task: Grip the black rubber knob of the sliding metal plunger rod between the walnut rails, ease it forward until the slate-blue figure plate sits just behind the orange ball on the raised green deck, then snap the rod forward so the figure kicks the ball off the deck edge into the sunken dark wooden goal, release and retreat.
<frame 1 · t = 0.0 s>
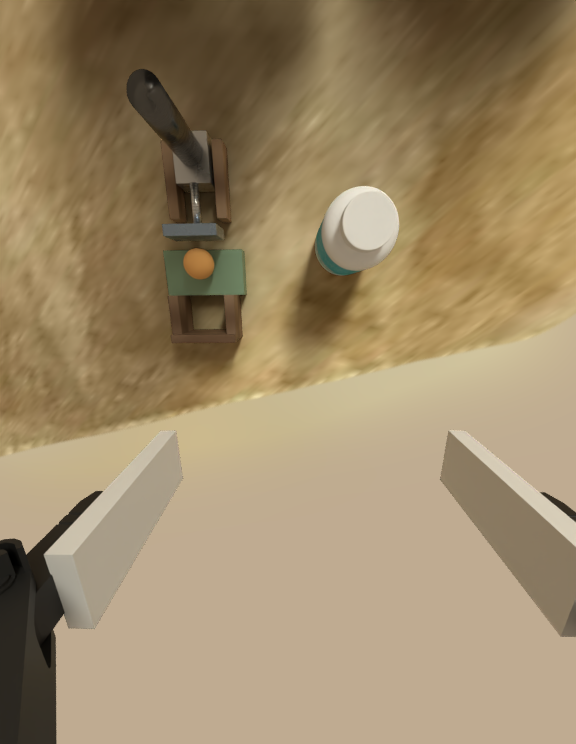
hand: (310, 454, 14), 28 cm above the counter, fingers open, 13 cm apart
ball: (199, 264, 34), point 4 cm above the counter, touching deck
guide: (201, 187, 35), on the counter
deck: (208, 273, 38), on the counter
pill bottle: (342, 246, 37), on the counter
goal: (212, 316, 40), on the counter
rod: (182, 176, 29), point 7 cm above the counter, slide at 0.0 cm
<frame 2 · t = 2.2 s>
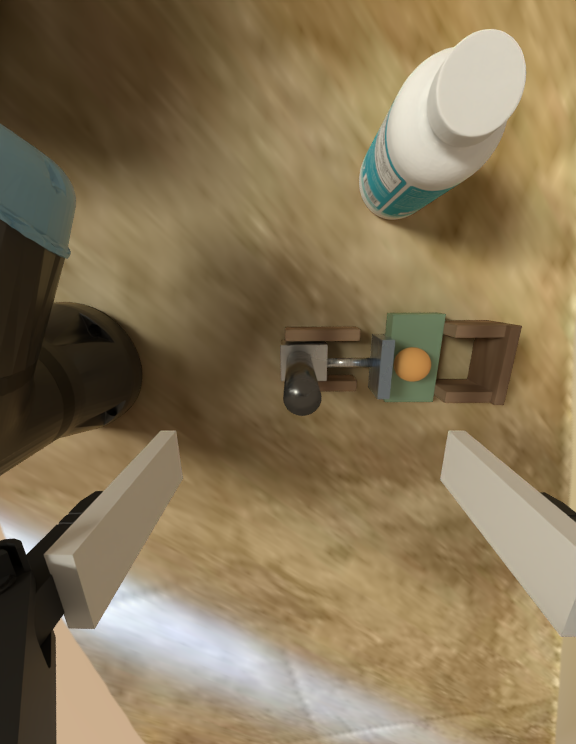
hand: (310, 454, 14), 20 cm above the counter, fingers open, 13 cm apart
ball: (411, 364, 29), point 4 cm above the counter, touching deck
guide: (319, 356, 33), on the counter
deck: (406, 356, 33), on the counter
pill bottle: (393, 180, 28), on the counter
goal: (456, 355, 33), on the counter
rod: (336, 372, 27), point 7 cm above the counter, slide at 0.0 cm
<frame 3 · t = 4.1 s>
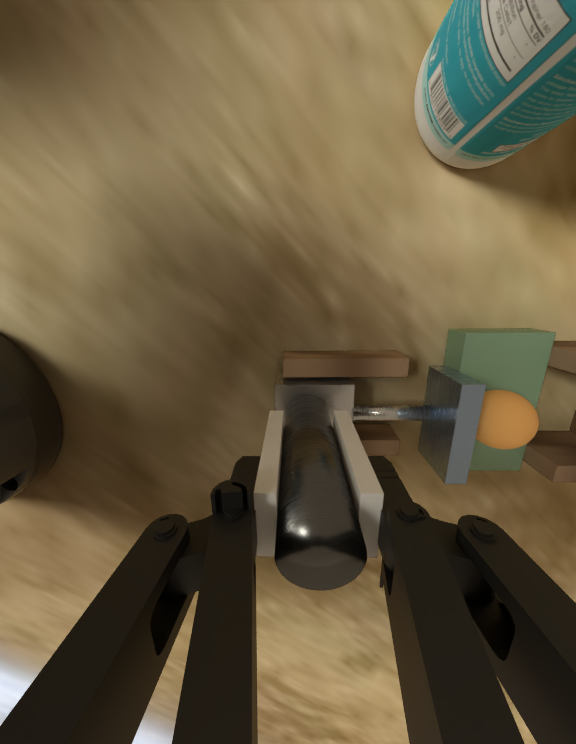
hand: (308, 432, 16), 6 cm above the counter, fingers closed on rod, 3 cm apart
ball: (499, 418, 17), point 4 cm above the counter, touching deck
guide: (337, 396, 21), on the counter
deck: (476, 396, 21), on the counter
pill bottle: (472, 100, 16), on the counter
goal: (555, 395, 21), on the counter
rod: (376, 442, 15), point 7 cm above the counter, slide at 0.0 cm, touching gripper
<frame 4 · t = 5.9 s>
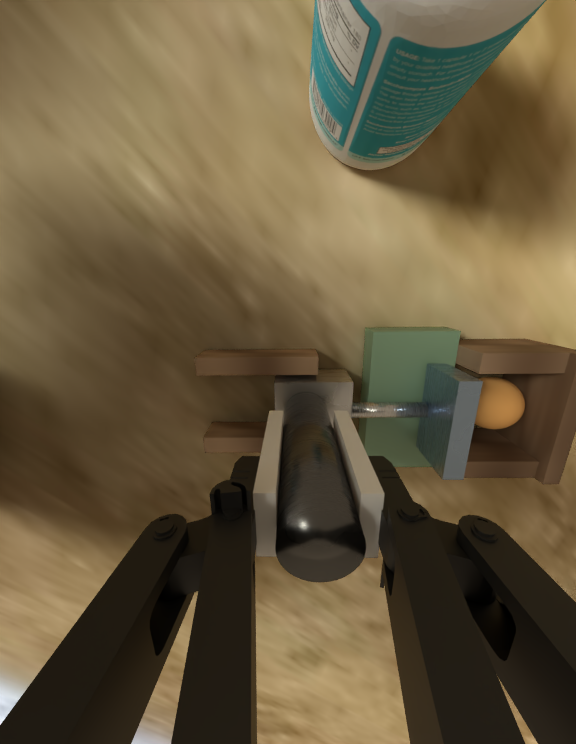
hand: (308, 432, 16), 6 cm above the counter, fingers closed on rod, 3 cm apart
ball: (490, 402, 19), point 2 cm above the counter, tilted 128°
guide: (262, 394, 21), on the counter
deck: (397, 393, 21), on the counter
pill bottle: (371, 102, 16), on the counter
goal: (474, 393, 21), on the counter
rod: (374, 439, 15), point 7 cm above the counter, slide at 5.7 cm, touching gripper
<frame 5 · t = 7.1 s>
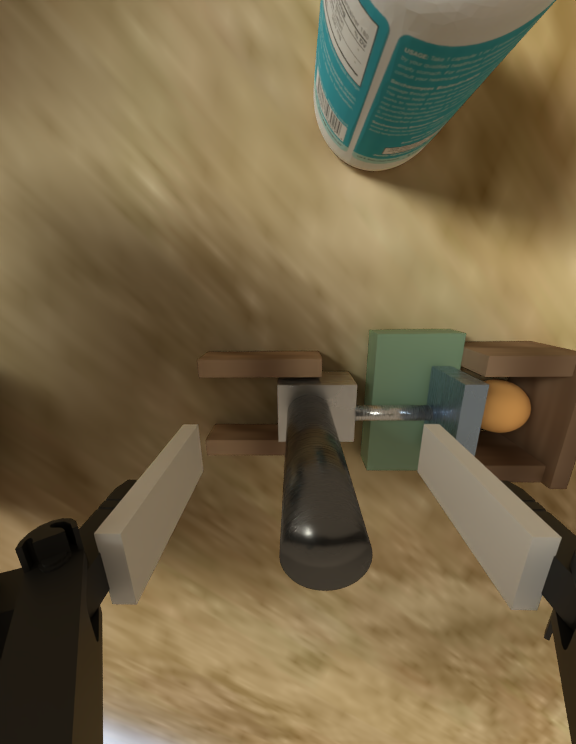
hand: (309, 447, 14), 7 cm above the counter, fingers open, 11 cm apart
ball: (496, 405, 19), point 2 cm above the counter, tilted 129°
guide: (264, 396, 21), on the counter
deck: (401, 396, 21), on the counter
pill bottle: (375, 102, 16), on the counter
goal: (479, 396, 21), on the counter
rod: (379, 443, 15), point 7 cm above the counter, slide at 5.7 cm
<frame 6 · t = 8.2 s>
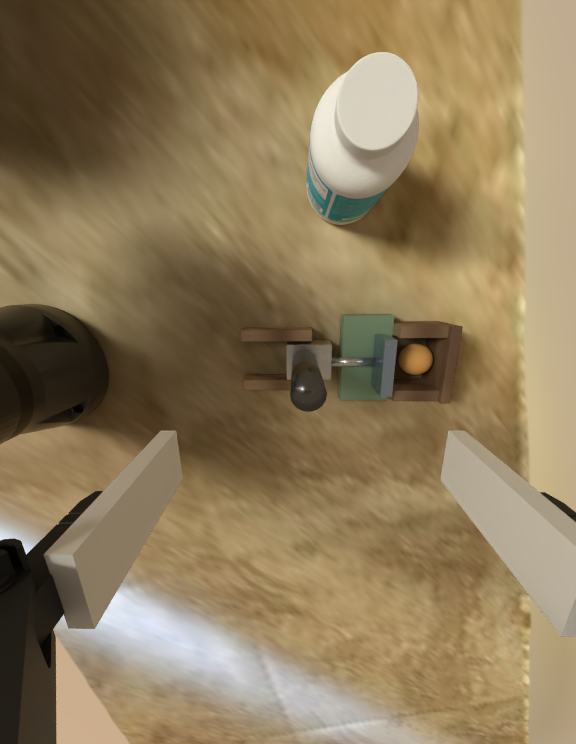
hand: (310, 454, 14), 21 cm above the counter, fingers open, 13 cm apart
ball: (415, 359, 32), point 2 cm above the counter, tilted 130°
guide: (277, 356, 34), on the counter
deck: (362, 355, 34), on the counter
pill bottle: (341, 187, 29), on the counter
goal: (409, 355, 34), on the counter
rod: (340, 371, 28), point 7 cm above the counter, slide at 5.7 cm
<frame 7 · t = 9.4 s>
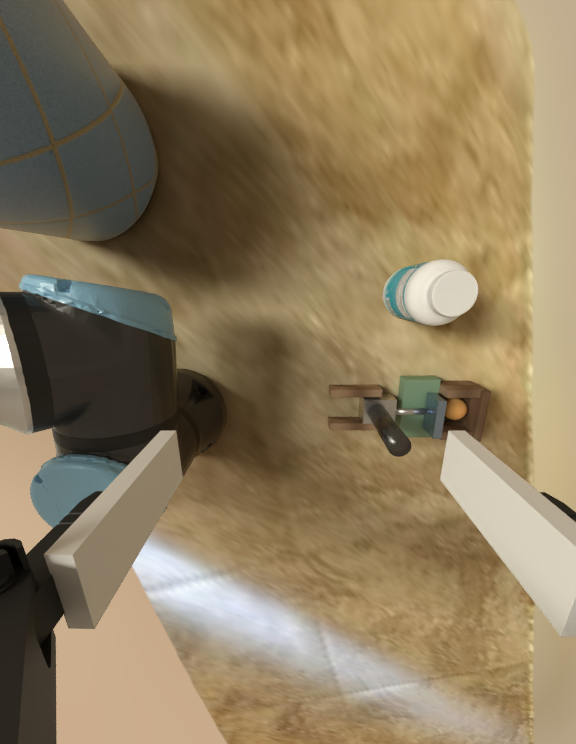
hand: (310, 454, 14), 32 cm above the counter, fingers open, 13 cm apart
planter: (84, 159, 38), on the counter
ball: (453, 408, 45), point 2 cm above the counter, tilted 131°
guide: (352, 404, 47), on the counter
deck: (413, 404, 47), on the counter
pill bottle: (405, 292, 42), on the counter
goal: (448, 404, 46), on the counter
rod: (407, 422, 40), point 7 cm above the counter, slide at 5.7 cm
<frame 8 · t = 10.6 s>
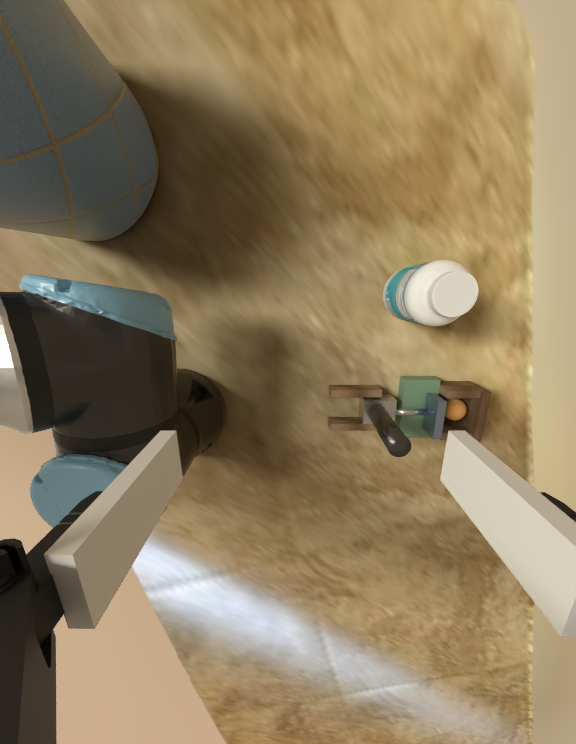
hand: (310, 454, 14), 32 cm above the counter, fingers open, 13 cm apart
planter: (85, 159, 38), on the counter
ball: (453, 408, 45), point 2 cm above the counter, tilted 132°
guide: (352, 404, 47), on the counter
deck: (413, 404, 47), on the counter
pill bottle: (405, 293, 42), on the counter
goal: (448, 404, 47), on the counter
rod: (407, 422, 40), point 7 cm above the counter, slide at 5.7 cm
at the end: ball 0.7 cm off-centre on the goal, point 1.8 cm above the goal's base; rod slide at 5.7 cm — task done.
